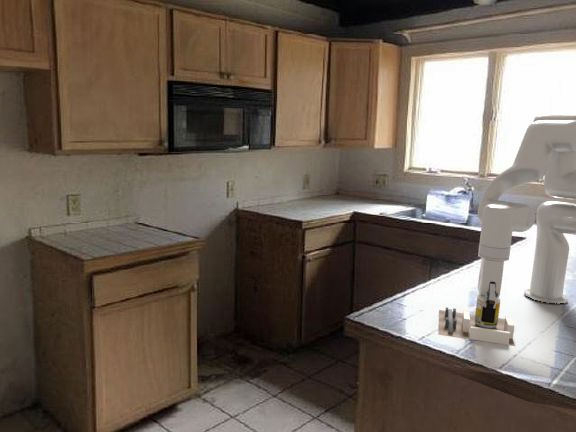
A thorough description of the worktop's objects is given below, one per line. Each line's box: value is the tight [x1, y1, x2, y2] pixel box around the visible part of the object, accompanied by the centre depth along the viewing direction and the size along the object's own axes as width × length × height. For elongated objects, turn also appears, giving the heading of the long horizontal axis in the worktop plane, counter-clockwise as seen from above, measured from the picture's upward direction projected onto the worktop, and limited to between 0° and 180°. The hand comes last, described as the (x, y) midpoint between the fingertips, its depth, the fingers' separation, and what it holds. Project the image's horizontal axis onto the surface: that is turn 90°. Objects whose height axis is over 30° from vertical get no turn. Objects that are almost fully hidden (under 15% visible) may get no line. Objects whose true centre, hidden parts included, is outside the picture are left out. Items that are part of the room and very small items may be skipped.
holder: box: [462, 310, 515, 346], centre depth 128 cm, size 10×12×4 cm
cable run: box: [444, 306, 457, 334], centre depth 135 cm, size 16×3×2 cm, turn 163°
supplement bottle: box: [474, 293, 501, 328], centre depth 133 cm, size 6×6×10 cm
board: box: [437, 309, 516, 347], centre depth 134 cm, size 19×18×1 cm
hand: (486, 317), depth 134 cm, fingers closed on supplement bottle, 5 cm apart
